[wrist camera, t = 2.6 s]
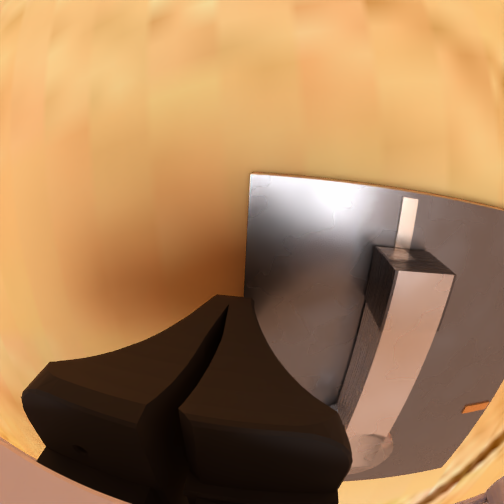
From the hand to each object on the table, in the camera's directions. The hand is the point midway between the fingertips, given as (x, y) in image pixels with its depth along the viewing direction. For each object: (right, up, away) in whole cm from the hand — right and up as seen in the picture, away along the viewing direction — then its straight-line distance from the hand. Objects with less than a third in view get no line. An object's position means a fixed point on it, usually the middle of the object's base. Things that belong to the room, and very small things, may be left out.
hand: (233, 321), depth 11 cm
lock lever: (+6, -3, +1) cm, 6 cm away
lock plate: (+8, -4, +2) cm, 9 cm away
